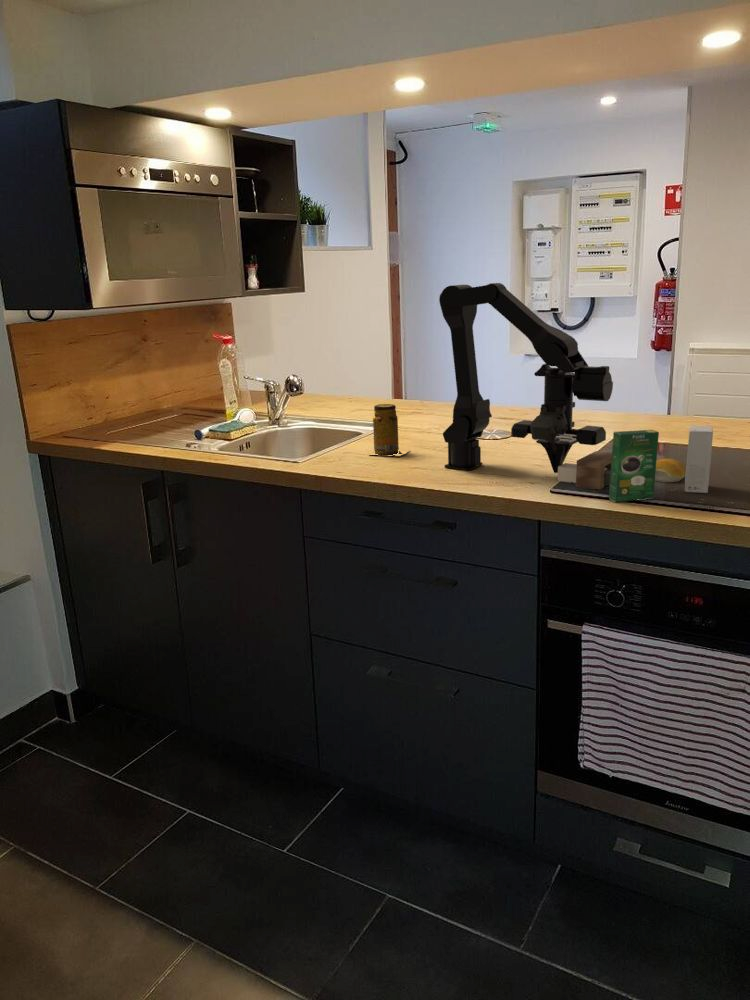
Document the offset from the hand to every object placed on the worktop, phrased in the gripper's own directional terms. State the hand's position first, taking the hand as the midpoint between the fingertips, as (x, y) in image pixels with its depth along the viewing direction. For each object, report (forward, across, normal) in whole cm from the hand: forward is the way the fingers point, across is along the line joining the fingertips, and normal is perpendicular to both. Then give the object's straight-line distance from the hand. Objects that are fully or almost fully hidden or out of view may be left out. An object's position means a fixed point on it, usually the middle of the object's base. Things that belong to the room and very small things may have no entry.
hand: (556, 472), depth 164 cm
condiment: (+1, -45, +2) cm, 45 cm away
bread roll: (+2, +19, +11) cm, 22 cm away
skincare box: (+1, +27, +5) cm, 27 cm away
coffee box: (+1, +19, -8) cm, 21 cm away
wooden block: (+1, +9, 0) cm, 9 cm away
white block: (+1, +7, 0) cm, 7 cm away
